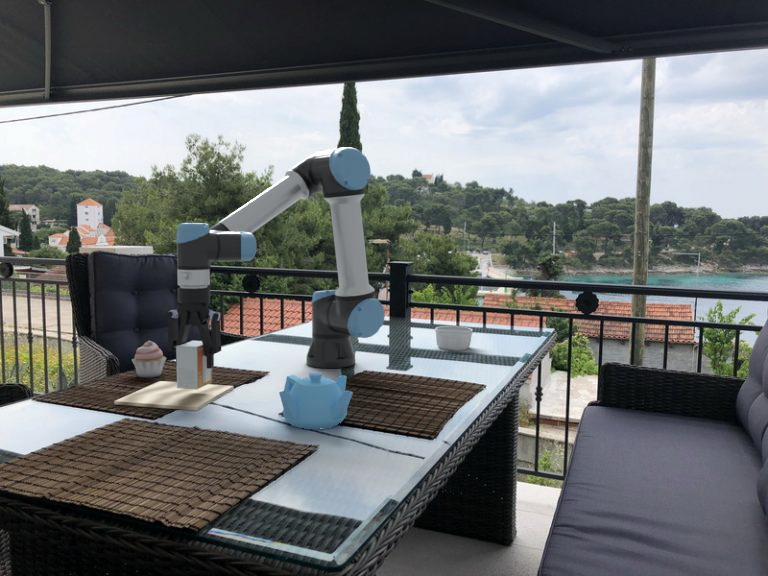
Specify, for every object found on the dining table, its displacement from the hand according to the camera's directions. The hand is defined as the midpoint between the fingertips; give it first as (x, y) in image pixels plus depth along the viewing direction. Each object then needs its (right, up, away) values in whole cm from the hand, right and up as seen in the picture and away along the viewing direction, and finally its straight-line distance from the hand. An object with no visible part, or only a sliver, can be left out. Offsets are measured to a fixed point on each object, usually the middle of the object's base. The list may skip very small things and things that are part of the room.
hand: (194, 380), depth 156 cm
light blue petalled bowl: (+32, -7, -17) cm, 37 cm away
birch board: (-5, -4, +1) cm, 7 cm away
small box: (0, -2, 0) cm, 2 cm away
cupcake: (-20, -2, +23) cm, 30 cm away
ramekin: (+71, +1, +70) cm, 100 cm away
